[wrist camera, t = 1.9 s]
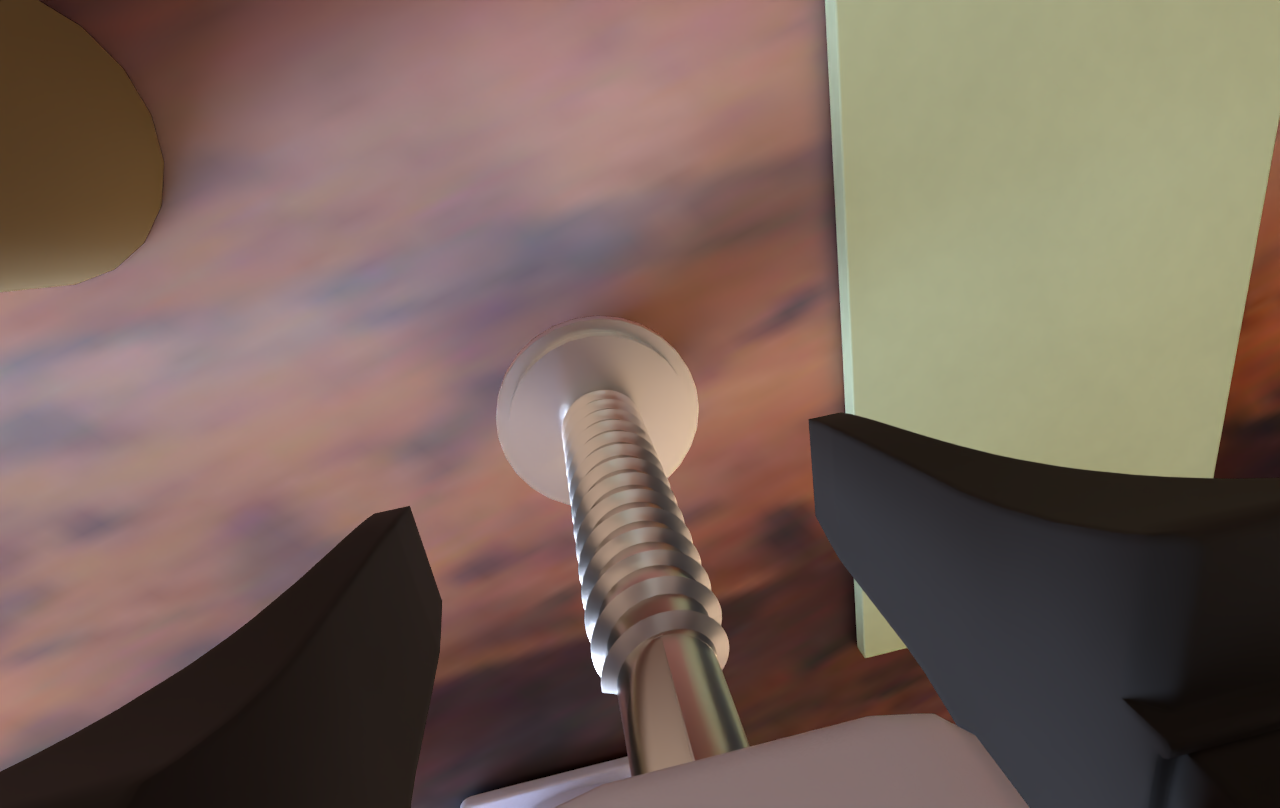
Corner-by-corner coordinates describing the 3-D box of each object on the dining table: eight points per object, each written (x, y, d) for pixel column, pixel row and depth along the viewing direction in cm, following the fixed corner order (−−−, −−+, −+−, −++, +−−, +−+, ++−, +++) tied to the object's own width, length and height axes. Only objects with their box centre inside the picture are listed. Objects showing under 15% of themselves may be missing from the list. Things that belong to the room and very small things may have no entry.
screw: (667, 283, 17) (690, 450, 19) (479, 318, 17) (520, 486, 19) (979, 597, 5) (960, 960, 7) (368, 743, 5) (513, 1088, 7)
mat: (1180, 566, 24) (1196, 576, 23) (856, 646, 23) (864, 659, 22) (1298, -119, 16) (1325, -128, 16) (821, -43, 15) (832, -50, 15)
